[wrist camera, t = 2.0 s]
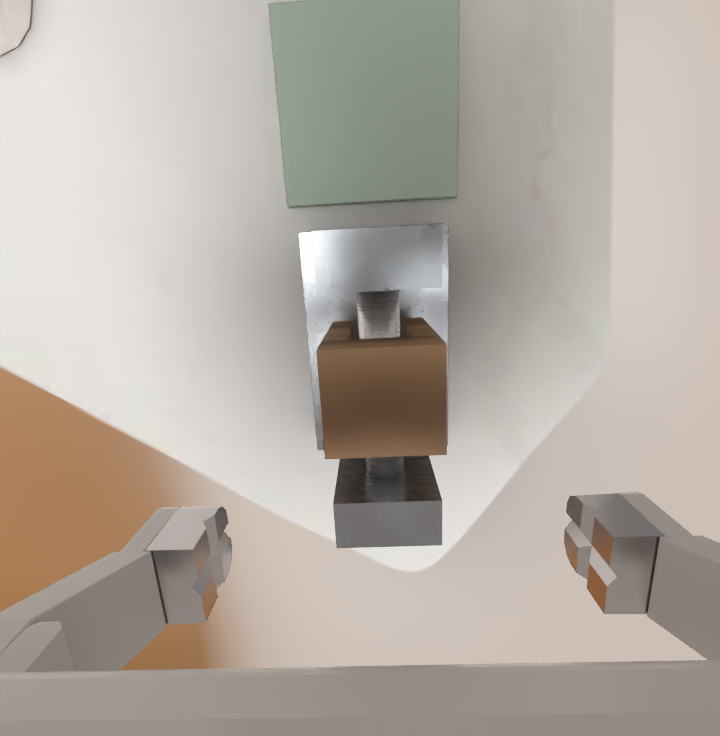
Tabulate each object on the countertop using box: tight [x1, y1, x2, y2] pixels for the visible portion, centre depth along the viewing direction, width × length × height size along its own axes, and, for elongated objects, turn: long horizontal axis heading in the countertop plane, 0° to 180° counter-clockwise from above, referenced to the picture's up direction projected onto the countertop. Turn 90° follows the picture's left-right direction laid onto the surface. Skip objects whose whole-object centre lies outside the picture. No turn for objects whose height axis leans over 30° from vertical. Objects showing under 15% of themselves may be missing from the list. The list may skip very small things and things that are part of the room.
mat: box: [268, 0, 459, 207], centre depth 27 cm, size 12×12×1 cm
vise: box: [299, 223, 449, 548], centre depth 24 cm, size 16×10×15 cm, turn 3°
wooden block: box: [316, 317, 447, 459], centre depth 21 cm, size 5×5×8 cm
